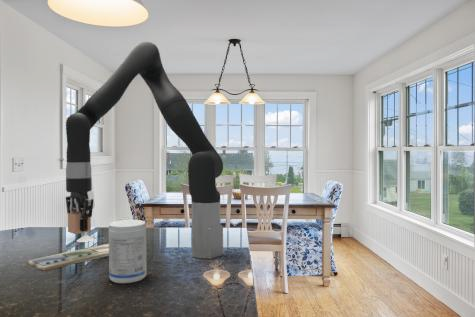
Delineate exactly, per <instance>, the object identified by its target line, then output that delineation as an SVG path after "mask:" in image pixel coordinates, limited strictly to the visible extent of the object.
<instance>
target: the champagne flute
mask: <svg viewBox="0 0 475 317" xmlns="http://www.w3.org/2000/svg"><path fill="white" fill-rule="evenodd" d="M87 194H88V198H89V199H93V209H94V208H95V197H94V196H95V195H94V186H93V185H92V190H91V191H88V192H87ZM93 209H92V211H93ZM88 212H89V211H88ZM88 241H89V242H93V241H96V238H94V237H92V236H90V235H89V234H88V232H85V233H83V235H82V236H81V237H80V238H78V239H77V240H76V242H77V243H87V242H88Z"/></svg>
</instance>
